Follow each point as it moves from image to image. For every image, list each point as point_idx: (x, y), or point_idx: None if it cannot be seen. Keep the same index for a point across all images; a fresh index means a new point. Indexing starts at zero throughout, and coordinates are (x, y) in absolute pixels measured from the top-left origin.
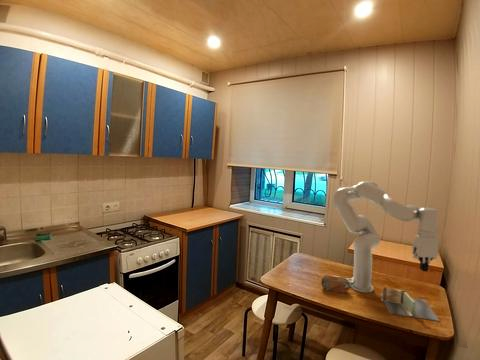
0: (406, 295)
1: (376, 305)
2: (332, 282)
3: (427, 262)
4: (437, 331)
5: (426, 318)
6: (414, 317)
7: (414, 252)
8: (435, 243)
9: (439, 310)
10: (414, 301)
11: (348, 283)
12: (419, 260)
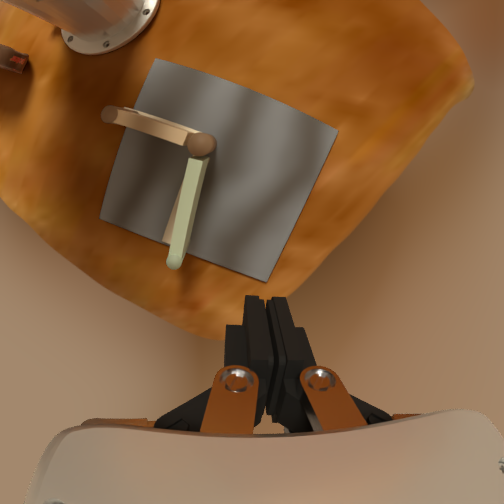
0: (180, 194)
1: (81, 157)
2: None
3: (284, 426)
4: (209, 324)
5: (224, 265)
6: None
7: (118, 445)
8: None
9: (334, 213)
10: (178, 260)
11: (5, 65)
12: (198, 403)
